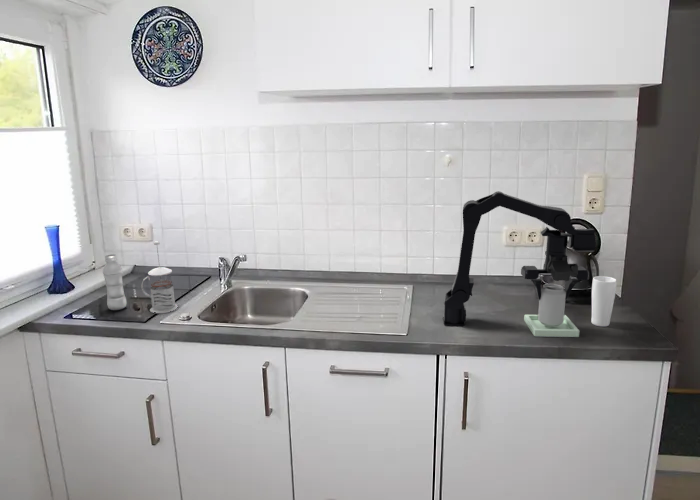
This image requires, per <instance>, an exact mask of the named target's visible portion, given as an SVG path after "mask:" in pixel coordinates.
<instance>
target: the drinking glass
mask: <svg viewBox="0 0 700 500" xmlns="http://www.w3.org/2000/svg"><path fill="white" fill-rule="evenodd" d="M616 293H617V279H616V278H615V277H611V276H606V275H605V276H604V275H597V276H593V278H592V283H591V320H590V321H591V324H592V325H594V326H597V327H599V328H600V327H604V328H605V327H609V325H610V324H611V317H612V313H613V308H614V302H615V298H616Z"/></svg>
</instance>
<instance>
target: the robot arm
mask: <svg viewBox="0 0 700 500" xmlns="http://www.w3.org/2000/svg"><path fill="white" fill-rule="evenodd" d="M499 207H502V208H504V209H507V210H510V211H514V212H516V213H520V214H522V215H526V216H527V217H528V216H529V217H532V218H534V219H536V220H539V221H540V222H542V223H544V224H546V225H547V226H546V227H545V228H544V229H542V230H541V231H540V234H541V236H542V237H547V238H546V248H545V249H546V250H545V252H544V254H545V260H544V261H545V262H544V265H543V268H542V269H541V268H537V267H536V266H535V265H523V266H522V267H521V269H520V274H521V276H522V277H523V278H524V279H525V280H529V281H530V282H532V283H533V286H534V289H535V292H536V296H537V299H538V301H539V300H540V298H541V289H542V288H541V287H542V279H541V276H545V277H547V276H550V277H552V278H551V279H552V280H553V281H554V282H555V281H556V282H559V281H564V291H565V292H566V298H565V301H566V300H568V297H569V296H570V294H571V292H572V290H573V289H574V287H575V286H576V285H577V284H578V283H582V282H583V281H588V280H589V279H590V271H589V270H588V269H586V268H585V267H584V266H582V265H578V263H569V262H568V255H567V251H568V248H570V249H572V251H573V252H587V253H588V252H589V253H592V252H593V253H594V252H595V250H596V246H597V245H596V244H597V241H596V234H595V232H596V231H595V229H594V228H576V227H575V226H574V225H573V224H572V223H571V222H572V219H571V215H570V214H569V213H568V212H567V211H566V210H565V209H564V208H561V207H557V206H552V205H551V206H549V205H540V204H538V203H534V202H531V201H528V200H525V199H521V198H519V197H517V196H512V195H509V194H506V193H504V192H502V191H494V193H491V194H490V195H489V194H488V195H486V196H484V197H481V198H479V199H477V200H473V199H471V200H468V201H466V202H465V203H464V204H463V206H462V223H463V224H462V225H463V228H462V229H463V233H462V238H461V239H462V240H461V245H460V246H461V247H460V253H459V260H458V261H459V262H458V269H457V272H456V275H455V277H454V280H453V283H452V285H451V289H450V290H448V291H447V292H445V295H444V302H443V316H442V322H443V325H444V326H451V327H452V326H456V327H457V326H458V327H459V326H461V327H462V326H463V327H464V326H466V325H465V324H466V320H467V319H466V318H467V310H466V308H465V304H464V303H467V302H468V301H469V300H470V298H471V297H472V296H473V288H474V284H475V281H474V280H475V278H474V277H470V272H471V265H472V257H473V251H474V243H475V239H476V238H475V237H476V231H477V229H478V228H479V224H480V222H481V219H482V216H483V215H485V214H487V213H489V212H492V211H493V210H495V209H496V208H499ZM548 226H549V227H551V228H552V229H550V228H549V227H548ZM561 231H564V232H561Z"/></svg>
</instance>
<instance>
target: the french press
mask: <svg viewBox="0 0 700 500" xmlns="http://www.w3.org/2000/svg"><path fill="white" fill-rule="evenodd" d="M153 244H154V245H155V246H156V251H157V254H159V248H158V246H159V245H160V241H158V240H155V241H154V242H153ZM157 259H158V262H160V258H159V255H157ZM172 272H173V270H172V269H170V268H168V267H166V266H165V267H164V266H161V265H160V263H158V267H155V268H152V269H151V270H150V271H148V272H147V274H148V276H146V277H144V278H143V280H142V282H141V285H140V289H141V291H142V293H143V295H145V296H146V297H148V298H150V301H151V308H150V309H149V312H151V313H154V312H156V313H154V314H165V313H169V312H170V311H171V312H174V311H176V310H177V309H178V308H179V306H177V305H178V304H176V300H175V290H174V284H172V283H173V282H172V280H170V279H162V276H167V275H170V274H171V273H172ZM151 277H159V278H160V279H159V280H154V281H152V282H151V283H150V285H151V287H150V294H148V293H147V292H146V291H145V289H144V285H143V283H144V282H145V280H147V279H148V281H149V282H150V281H151ZM177 307H178V308H177ZM176 308H177V309H176ZM175 309H176V310H175ZM173 310H174V311H173Z"/></svg>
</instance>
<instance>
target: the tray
mask: <svg viewBox="0 0 700 500" xmlns="http://www.w3.org/2000/svg"><path fill="white" fill-rule="evenodd" d="M523 321H524V322H525V325H526V326H527V328H529V330H530V332H531V333H532V335H533V337H541V338H542V337H545V338H546V337H549V338H550V337H553V338H554V337H555V338H557V337H559V338H561V337H562V338H579V337H580V329H578V327H577V326H576V325H575V323H574V322H573V321H572V320H571V319H570V318H569V317H568V316H567V315H566V314H564V320H563V323H562V324H560V325H559V326H546V325H543V324H542V323H541V322H540V321H539V320H538V314H524V317H523Z"/></svg>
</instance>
